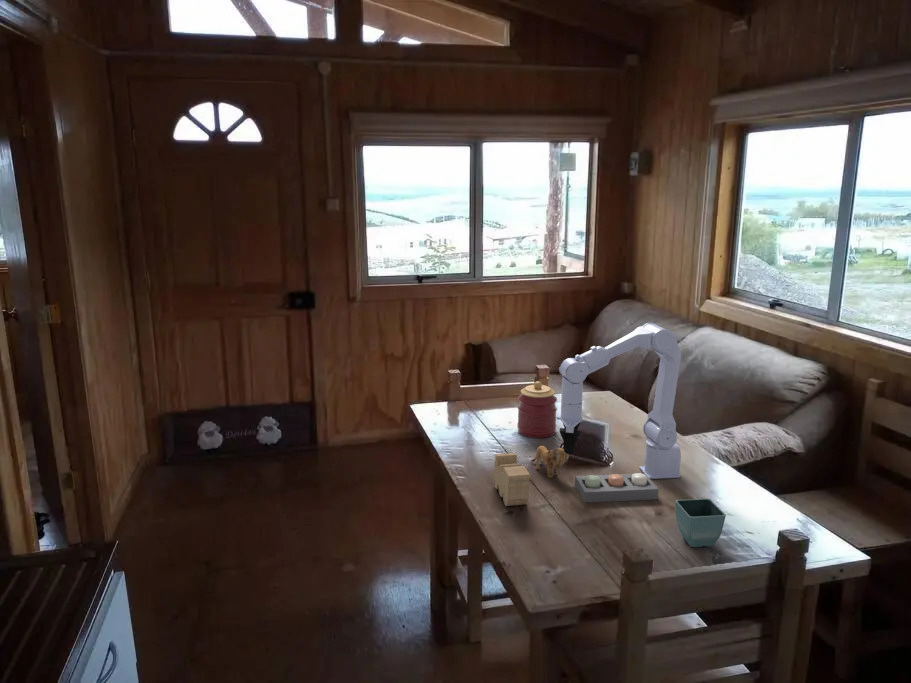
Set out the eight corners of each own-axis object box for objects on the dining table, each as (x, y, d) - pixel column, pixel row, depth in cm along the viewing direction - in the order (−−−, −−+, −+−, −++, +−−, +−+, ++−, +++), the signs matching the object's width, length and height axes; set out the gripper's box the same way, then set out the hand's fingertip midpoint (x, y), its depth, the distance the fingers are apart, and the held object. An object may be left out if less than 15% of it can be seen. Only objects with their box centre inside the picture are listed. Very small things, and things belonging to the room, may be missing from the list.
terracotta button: (620, 483, 190) (621, 473, 189) (625, 490, 186) (625, 480, 185) (606, 484, 189) (606, 474, 188) (610, 491, 185) (611, 480, 185)
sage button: (597, 484, 189) (597, 474, 188) (601, 491, 185) (602, 481, 184) (583, 485, 189) (583, 475, 188) (587, 492, 185) (587, 481, 184)
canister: (562, 429, 234) (564, 379, 230) (545, 441, 223) (547, 389, 219) (527, 422, 241) (529, 373, 237) (510, 433, 230) (511, 383, 226)
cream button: (643, 482, 190) (643, 472, 189) (648, 489, 186) (649, 479, 186) (629, 483, 190) (629, 473, 189) (634, 490, 186) (634, 479, 185)
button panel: (644, 482, 193) (644, 473, 193) (657, 499, 184) (658, 488, 183) (574, 485, 192) (575, 476, 191) (584, 502, 182) (585, 492, 181)
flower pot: (671, 533, 167) (674, 499, 164) (706, 531, 167) (709, 497, 165) (686, 552, 158) (689, 517, 156) (723, 550, 159) (726, 515, 157)
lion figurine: (570, 478, 197) (572, 448, 195) (556, 482, 194) (557, 452, 192) (537, 460, 209) (538, 432, 206) (523, 464, 206) (524, 436, 204)
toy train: (511, 482, 194) (512, 449, 192) (529, 510, 178) (530, 474, 176) (492, 483, 193) (493, 450, 191) (508, 512, 177) (509, 476, 175)
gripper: (558, 392, 197) (557, 437, 201) (555, 409, 184) (553, 456, 187) (583, 394, 196) (581, 439, 199) (582, 411, 182) (580, 458, 185)
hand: (569, 447), depth 193 cm, fingers open, 7 cm apart
